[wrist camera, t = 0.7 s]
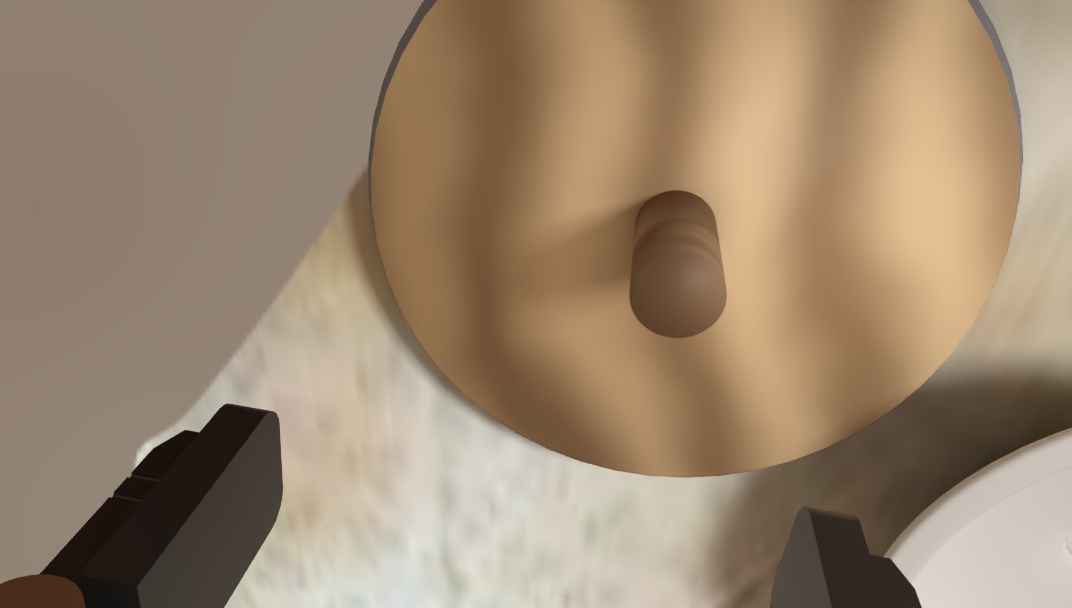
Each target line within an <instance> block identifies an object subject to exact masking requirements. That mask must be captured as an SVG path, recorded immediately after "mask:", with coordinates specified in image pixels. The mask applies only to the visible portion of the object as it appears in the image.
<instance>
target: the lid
mask: <svg viewBox="0 0 1072 608" xmlns="http://www.w3.org/2000/svg"><path fill="white" fill-rule="evenodd" d="M1020 173H1021V164H1020V148H1019V131H1018V123H1017V119H1016V114H1015V110H1014V105H1013V100H1012V96H1011V91H1010V87H1009V83H1008V80H1007V78H1006V75H1005V73H1004V70H1003V68H1002V65H1001V63H1000V60H999V58H998V55H997V52H996V50H995V47H994V45H993V42H992V40H991V39H990V37H989V35H988V34H987V32H986V30H985V29H984V27H983V25H982V24H981V22H980V20H979V19H978V17H977V15H976V14H975V12H974V10H973V9H972V7H971V5H970V4H969V2H968V1H967V0H437V2H436V3H435V4H434V5H433V7H432V8H431V9H430V10H429V12H428V13H427V14H426V15H425V17H424V18H423V20H422V21H421V23H420V25H419V26H418V28H417V30H416V32H415V33H414V35H413V37H412V38H411V40H410V42H409V43H408V45H407V47H406V48H405V50H404V52H403V53H402V56H401V58H400V60H399V63H398V65H397V67H396V70H395V72H394V75H393V77H392V79H391V82H390V84H389V87H388V89H387V91H386V95H385V98H384V102H383V106H382V110H381V113H380V117H379V121H378V125H377V129H376V134H375V142H374V150H373V158H372V166H371V202H372V214H373V220H374V227H375V234H376V241H377V246H378V249H379V253H380V256H381V260H382V263H383V267H384V270H385V274H386V277H387V280H388V282H389V285H390V287H391V289H392V292H393V294H394V296H395V299H396V301H397V303H398V306H399V308H400V310H401V312H402V314H403V316H404V317H405V319H406V321H407V323H408V324H409V326H410V328H411V329H412V331H413V333H414V335H415V336H416V338H417V340H418V341H419V343H420V344H421V345H422V347H423V348H424V349H425V350H426V352H427V353H428V354H429V356H430V357H431V358H432V360H433V361H434V362H435V364H436V365H437V366H438V368H439V369H440V370H441V371H442V372H443V373H444V374H445V375H446V376H447V377H448V378H449V379H450V380H451V381H452V382H453V383H454V384H455V385H456V386H457V387H458V389H459V390H460V391H461V392H462V393H463V394H465V395H466V396H467V397H468V398H469V399H471V400H472V401H473V402H474V403H476V404H477V405H478V406H479V407H480V408H482V409H483V410H484V411H485V412H486V413H488V414H489V415H490V416H492V417H493V418H495V419H496V420H498V421H500V422H501V423H503V424H504V425H506V426H507V427H509V428H510V429H512V430H513V431H515V432H516V433H518V434H520V435H522V436H524V437H526V438H528V439H530V440H532V441H534V442H536V443H538V444H540V445H542V446H543V447H545V448H547V449H550V450H552V451H555V452H558V453H560V454H563V455H565V456H568V457H571V458H573V459H576V460H579V461H582V462H585V463H589V464H593V465H597V466H600V467H604V468H608V469H612V470H616V471H623V472H629V473H635V474H642V475H648V476H666V477H705V476H722V475H728V474H735V473H741V472H748V471H754V470H759V469H763V468H766V467H770V466H774V465H778V464H782V463H786V462H790V461H793V460H795V459H798V458H801V457H803V456H806V455H809V454H811V453H814V452H817V451H819V450H822V449H825V448H827V447H829V446H831V445H833V444H835V443H837V442H839V441H841V440H843V439H845V438H847V437H849V436H851V435H853V434H855V433H857V432H859V431H860V430H862V429H864V428H865V427H867V426H868V425H870V424H871V423H873V422H874V421H876V420H877V419H879V418H880V417H882V416H884V415H885V414H887V413H888V412H890V411H891V410H893V409H894V408H895V407H896V406H897V405H899V404H900V403H901V402H902V401H903V400H905V399H906V398H907V397H908V396H909V395H911V394H912V393H913V392H914V391H916V390H917V389H918V388H919V387H920V386H922V385H923V383H924V382H925V381H926V380H927V379H928V378H929V377H930V376H931V375H932V374H933V373H934V372H935V371H936V370H937V369H938V368H939V367H940V366H941V365H942V364H943V363H944V362H945V360H946V359H947V358H948V357H949V356H950V355H951V353H952V352H953V351H954V349H955V348H956V347H957V345H958V344H959V343H960V341H961V340H962V339H963V337H964V336H965V335H966V333H967V332H968V330H969V329H970V328H971V326H972V325H973V323H974V321H975V320H976V318H977V316H978V314H979V313H980V311H981V309H982V307H983V305H984V304H985V302H986V300H987V298H988V297H989V295H990V293H991V291H992V289H993V287H994V284H995V282H996V279H997V277H998V274H999V271H1000V269H1001V266H1002V264H1003V261H1004V259H1005V256H1006V254H1007V251H1008V247H1009V243H1010V238H1011V234H1012V230H1013V226H1014V222H1015V218H1016V214H1017V206H1018V195H1019V184H1020Z"/></svg>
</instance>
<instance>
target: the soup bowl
mask: <svg viewBox="0 0 1072 608" xmlns="http://www.w3.org/2000/svg"><path fill="white" fill-rule="evenodd" d="M1071 532H1072V428H1069V429H1066V430H1063V431H1060V432H1057V433H1055V434H1052V435H1050V436H1047V437H1045V438H1043V439H1040V440H1038V441H1035V442H1033V443H1031V444H1028V445H1026V446H1023V447H1021V448H1019V449H1017V450H1015V451H1013V452H1011V453H1010V454H1008V455H1006V456H1004V457H1002V458H1000V459H998V460H996V461H994V462H992V463H990V464H989V465H987V466H985V467H984V468H982V469H980V470H979V471H977V472H975V473H974V474H972V475H970V476H969V477H967V478H965V479H964V480H963V481H961V482H960V483H958V484H957V485H956V486H954V487H953V488H951V489H950V490H949V491H947V492H946V493H944V494H943V495H942V496H940V497H939V498H938V499H937V500H936V501H935V502H933V503H932V504H931V505H930V506H929V507H928V508H926V509H925V510H924V511H923V512H922V513H921V514H919V515H918V516H917V517H916V518H915V519H914V521H913V522H912V523H911V524H910V525H909V526H908V527H907V528H906V529H905V530H904V531H903V532H902V533H901V534H900V535H899V536H898V538H897V539H896V540H895V542H894V543H893V544H892V545H891V547H890V548H889V549H888V551H887V552H886V553H885V554H884V556H883V557H885V558H890V559H891V560H892V561H893V562H894V564H895V565H896V566H897V567H898V568H899V570H900V571H901V572H902V573H903V575H904V576H905V577H906V578H907V580H908V581H909V582H910V583H911V585H912V586H913V587H914V588H915V590H916V593H917V596H918V598H919V601H920V604H921V607H922V608H1072V552H1071V551H1070V550H1069V549H1068V548H1067V546H1066V540H1067V538H1068V536H1069V534H1070V533H1071Z"/></svg>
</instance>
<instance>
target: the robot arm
mask: <svg viewBox="0 0 1072 608" xmlns="http://www.w3.org/2000/svg"><path fill="white" fill-rule="evenodd" d="M282 493H283V481H282V462H281V443H280V425H279V418H278V416H277V414H276V413H275V412H273V411H268V410H262V409H256V408H251V407H245V406H239V405H234V404H225V405H224V406H222V407H221V408H220V409H219V410H218V411H217V412H216V414H215V415H214V416H213V417H212V418H211V420H210V421H209V422H208V423H207V424H206V425H205V427H204V428H203V429H202V430H201V431H200V433H199V432H194V431H188V430H184V431H183V432H181V433H179V434H177V435H176V436H174V437H172V438H171V439H169V440H167V441H165V442H164V443H162V444H160V445H159V446H157V447H155V448H153V449H152V451H151V452H150V453H149V454H148V455H147V456H146V457H145V458H144V459H143V461H142V462H141V463H140V464H139V465H138V466H137V467H136V468H135V469H134V470H133V472H132V475H131V477H130V478H129V477H127V478H126V479H125V480H124V482H123V483H122V484H121V485H120V486H119V487H118V488H117V489H116V490H115V492H114V495H113V497H112V498H110V497H109V498H108V499H107V500H106V501H105V503H104V504H103V505H102V506H101V507H100V508H99V509H98V510H97V511H96V513H95V514H94V515H93V516H92V517H91V518H90V519H89V520H88V521H87V523H86V524H85V525H84V526H83V527H82V528H81V530H79V531H78V532H77V534H76V535H75V536H74V537H73V538H72V539H71V540H70V541H69V542H68V543H67V545H66V546H65V547H64V548H63V549H62V550H61V551H60V552H59V554H58V555H57V556H56V557H55V558H54V559H53V560H52V561H51V562H50V563H49V565H48V566H47V567H46V568H45V569H44V570H43V571H42V572H41V573H40V574H39V575H29V576H24V577H19V578H16V579H12V580H9V581H6V582H4V583H1V584H0V608H224V607H225V605H226V603H227V602H228V600H229V599H230V597H231V595H232V594H233V592H234V590H235V589H236V587H237V585H238V584H239V582H240V580H241V579H242V577H243V575H244V574H245V572H246V571H247V569H248V567H249V566H250V564H251V562H252V561H253V559H254V557H255V556H256V554H257V552H258V551H259V549H260V548H261V546H262V544H263V543H264V541H265V539H266V538H267V536H268V534H269V533H270V531H271V529H272V527H273V526H274V523H275V521H276V519H277V516H278V513H279V509H280V505H281V501H282ZM771 608H922V607H921V604H920V601H919V598H918V596H917V593H916V590H915V588H914V587H913V586H912V585H911V583H910V582H909V581H908V580H907V578H906V577H905V576H904V575H903V573H902V572H901V571H900V570H899V568H898V567H897V566H896V565H895V564H894V562H893V561H892V560H891V559H890V558H885V557H880V556H874V555H870V554H869V551H868V547H867V544H866V541H865V538H864V534H863V531H862V528H861V525H860V522H859V520H858V518H857V517H856V516H853V515H848V514H842V513H837V512H831V511H825V510H820V509H814V508H808V507H802V508H801V509H800V511H799V512H798V514H797V517H796V519H795V522H794V525H793V528H792V531H791V534H790V537H789V540H788V542H787V545H786V548H785V551H784V554H783V557H782V560H781V563H780V566H779V568H778V571H777V574H776V577H775V580H774V584H773V589H772V595H771Z"/></svg>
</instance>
